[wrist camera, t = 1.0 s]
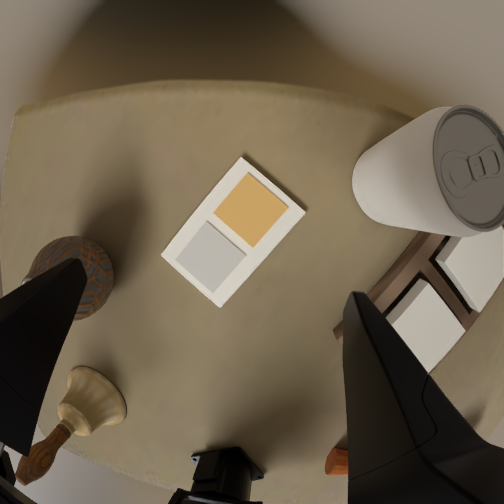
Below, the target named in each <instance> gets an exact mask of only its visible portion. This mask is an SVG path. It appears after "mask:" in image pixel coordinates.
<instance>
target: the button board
mask: <svg viewBox="0 0 504 504" xmlns="http://www.w3.org/2000/svg"><path fill="white" fill-rule="evenodd" d="M502 227H503V229H504V225H502ZM445 236H446V235H442V234H436V233H430V232H425V231H420V232H419V233H418V235H417V236H416V237H415V238H414V240H413V241H412V242H411V244H410V245H409V246H408V247H407V249H406V250H405V251H404V252H403V253H402V255H401V256H400V257H399V258H398V260H397V261H396V262H395V263H394V264H393V266H392V267H391V268H390V269H389V270H388V271H387V273H386V274H385V275H384V276H383V277H382V278H381V279H380V281H379V282H378V283H377V284H376V285H375V286H374V287H373V289H372V290H371V291H370V292H369V293H368V294H367V296H368V297H369V298H370V299H371V301H372V302H373V303H374V304H375V305H376V307H377V308H378V309H379V310H380V312H381V313H383V312H384V311H385V310H386V309H387V308H388V307H389V305H390V304H391V303H392V302H393V301H394V300H395V299H396V298H397V296H398V295H399V294H400V293H401V292H402V291H403V289H404V288H405V287H406V286H407V285H408V284H409V282H410V281H411V280H412V279H413V278H414V276H415V275H416V274H418V275H419V276H420V277H421V278H422V280H424V281H426V282H428V283H429V284H430V285H431V287H432V288H433V289H434V290H435V291H436V293H437V294H438V295H439V296H440V298H441V299H442V300H443V302H444V303H445V304H446V305H447V307H448V308H449V309H450V311H451V312H452V313H453V315H454V316H455V317H456V319H457V320H458V321H459V323H460V324H461V325H462V327H463V328H464V330H465V332H464V334H463V335H462V336H461V337H460V339H459V340H458V341H457V342H456V343H455V345H456V344H457V343H458V342H459V341H460V340H461V338H462V337H463V336H464V335H465V333H466V332H467V331H468V330H469V328H470V327H471V326H472V325H473V323H474V322H475V321H476V319H477V318H478V317H479V315H480V314H481V313H482V311H483V310H484V308H485V307H486V306H487V304H488V303H489V301H490V300H491V298H492V297H493V296H494V294H495V293H496V291H497V289H498V288H499V286H500V285H501V283H502V282H503V280H504V278H503V279H502V281H501V282H500V284H499V286H498V287H497V289H496V290H495V292H494V293H493V295H492V296H491V298H490V299H489V300H488V302H487V303H486V305H485V306H484V308H483V309H482V310H481V312H480V313H479V312H477V311H476V310H474V309H472V308H470V306H469V305H468V303H467V302H466V300H464V302H463V303H462V304H461V302H460V301H459V300H458V298H457V297H456V295H455V294H454V293H453V291H452V290H451V289H450V287H449V286H448V285H447V283H446V282H445V281H444V279H443V278H442V277H441V276H440V274H439V273H438V272H437V270H436V269H435V268H434V267H433V265H432V264H431V263H430V262H429V261H428V259H429V258H430V256H431V255H432V254H433V252H434V251H435V250H436V248H437V247H438V246H439V244H440V243H441V242H442V240H443V239H444V237H445ZM333 332H334V334H335V336H336V339H337V341H339V342H340V343H341V344H342V345H343V320H342V321H341V323H340V324H339V325H338V326H337V327H336V328H335V329H334V330H333ZM455 345H454V346H453V347H452V348H451V349H450V350H449V351H448V353H447V354H446V355H445V356H444V357H443V358H442V359H441V360H440V361H439V362H438V364H439V363H440V362H441V361H442V360H443V359H444V358H445V357H446V356H447V355H448V354H449V352H450V351H451V350H452V349H453V348H454V347H455ZM438 364H437V365H436V366H435V367H434V368H433V369H432V370H431V371H430V372H429V373H428V374H430V373H431V372H432V371H433V370H434V369H435V368H436V367H437V366H438Z"/></svg>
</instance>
